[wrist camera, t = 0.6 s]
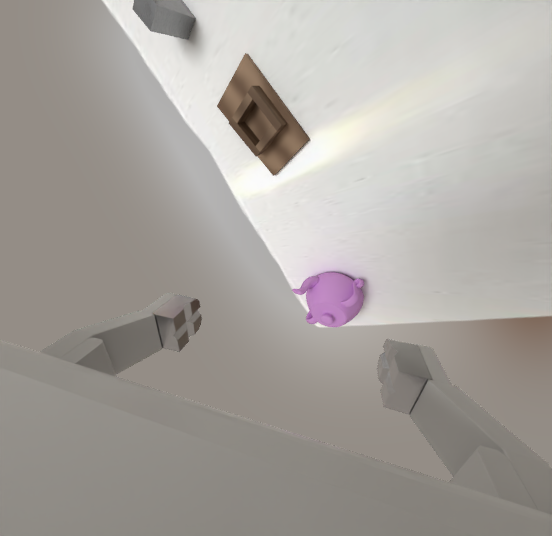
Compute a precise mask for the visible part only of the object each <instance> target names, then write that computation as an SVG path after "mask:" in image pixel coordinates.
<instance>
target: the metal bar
mask: <svg viewBox="0 0 552 536" xmlns="http://www.w3.org/2000/svg"><path fill="white" fill-rule="evenodd" d="M133 10H134V11H135V13H136V14H137V15H138V16H139V17H140V19H141V20H142V21H143V22H144V24H145V25H146V26H147V27H148V28H149V30H150V31H153V32H157V33H161V34H166V35H170V36H174V37H179V38H183V39H187V40H188V38H189V35H190V33H191V30H192V27H193V24H194V21H195V19H196V18H195V17H194V16H193V14H192V13H191V12H190V10H189V9H188V8H187V6H186V5H185V4H184V2H183V1H182V0H134V5H133Z"/></svg>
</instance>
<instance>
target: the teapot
mask: <svg viewBox="0 0 552 536" xmlns="http://www.w3.org/2000/svg"><path fill="white" fill-rule="evenodd" d="M363 285H364V282H363V280H362V279H356V280H352V279H351V278H349V277H347V276H345V275H343V274H340V273H334V272H328V273H322V274H319V275H317V276H312V277H309V278H307V279H306V280H305V281H304V282H303V284H302V286H301V288H300V289H292V291H293V292H295V293H296V294H299V295H302V294H304V293H305V292H306V291H307V293H306V299H307V304H308V307H309V310H310V311H309V312H308V314H307V317H306V320H307V322H308V323H310V324H315V323H317V322H319V323H321V324H322V325H325V326H328V327H339V326H342V325H344V324H346V323H347V322H349V321H350V320H352V319H353V318H354V317H355V316H356V315H357V314H358V312H359V311H360V309H361V307H362V304H363V299H364V297H363V293H362V290H361V287H362V286H363Z"/></svg>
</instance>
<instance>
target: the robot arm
mask: <svg viewBox="0 0 552 536" xmlns="http://www.w3.org/2000/svg"><path fill="white" fill-rule="evenodd" d="M199 308H200V302H199V300H198V299H195V298H191V297H187V296H182V295H177V294H173V293H166V294H164V295H163V296H162V297H160V298H159V299H158V300H156V301H155V302H153V303H152V304H151V305H149V306H148V307H147V308H145V309H144V310H143V311H137V312H133V313H130V314H126V315H123V316H120V317H117V318H113V319H110V320H107V321H104V322H100V323H97V324H94V325H91V326H87V327H84V328H81V329H77V330H75V331H72V332H71V333H69V334H67V335H66V336H64V337H63V338H61V339H59V340H58V341H56V342H55V343H53V344H51V345H50V346H48V347H47V348H45V349H43V350H42V351H40V352H37V351H34V350H31V349H28V348H25V347H22V346H18V345H15V344H12V343H9V342H6V341H3V340H0V536H552V468H551V467H550V466H549V464H548V463H547V462H546V461H545V460H544V459H542V458H541V457H540V456H539V455H538V454H537V453H535V452H534V451H533V450H532V449H531V448H529V447H528V446H527V445H526V444H525V443H524V442H522V441H521V440H520V439H519V438H518V437H516V436H515V435H514V434H513V433H512V432H510V431H509V430H508V429H507V428H506V427H505V426H503V425H502V424H501V423H500V422H499V421H498V420H496V419H495V418H494V417H493V416H491V415H490V414H489V413H488V412H487V411H486V410H485V409H483V408H482V407H480V405H479V404H477V403H476V402H475V401H474V400H473V399H471V398H470V397H469V396H468V395H467V394H466V393H465V392H463V391H462V390H461V389H460V388H459V387H457V386H455V385H452V384H451V382H450V380H449V378H448V377H447V374H446V372H445V370H444V369H443V367H442V365H441V363H440V361H439V359H438V357H437V355H436V353H435V351H434V349H433V348H431V347H428V346H423V345H418V344H411V343H406V342H401V341H396V340H390V339H387V340H386V341H385V343H384V346H383V347H384V351H385V352H384V353H382V354H381V355H380V357H379V361H378V368H377V369H378V379H379V380H380V382H381V383H382V384H383V385H382V388H381V395H382V400H383V406H384V407H386V408H389V409H392V410H396V411H399V412H402V413H406V414H409V415H410V417H411V419H412V420H413V422H414V423H415V424H416V426H417V427H418V428H419V430H420V431H421V433H422V434H423V435H424V437H425V438H426V440H427V441H428V442H429V444H430V445H431V446H432V448H433V449H434V451H435V452H436V454H437V455H438V456H439V458H440V459H441V460H442V462H443V463H444V465H445V466H446V467H447V469H448V470H449V471H450V473H451V474H452V475H453V478H452V479H451V480H450V482H447V481H444V480H441V479H438V478H434V477H432V476H428V475H425V474H422V473H419V472H416V471H413V470H410V469H406V468H403V467H400V466H397V465H394V464H391V463H388V462H384V461H381V460H378V459H375V458H372V457H368V456H365V455H362V454H359V453H356V452H353V451H350V450H346V449H343V448H340V447H336V446H334V445H331V444H327V443H324V442H321V441H318V440H315V439H312V438H308V437H305V436H302V435H299V434H296V433H292V432H289V431H286V430H283V429H280V428H277V427H274V426H270V425H267V424H264V423H261V422H258V421H254V420H251V419H248V418H245V417H242V416H238V415H236V414H232V413H229V412H226V411H223V410H220V409H217V408H214V407H211V406H207V405H204V404H201V403H198V402H195V401H192V400H188V399H185V398H182V397H179V396H176V395H173V394H170V393H167V392H163V391H160V390H157V389H154V388H150V387H148V386H144V385H141V384H138V383H135V382H132V381H129V380H126V379H122V378H119V377H117V376H116V374H118V373H120V372H121V371H123V370H125V369H127V368H129V367H131V366H133V365H134V364H136V363H138V362H140V361H141V360H143V359H145V358H147V357H149V356H150V355H152V354H154V353H156V352H158V351H160V350H161V349H162V348H165V349H169V350H174V351H177V352H180V351H181V350H182V349H183V347H184V346H185V345H186V344H187V343H188V342H189V337H190V336H192V335H194V334H195V333H196V332H197V331H198V330H199V327H200V325H201V320H202V317H201V314H200V313H199V311H198V309H199Z"/></svg>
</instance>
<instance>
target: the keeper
mask: <svg viewBox="0 0 552 536" xmlns="http://www.w3.org/2000/svg"><path fill="white" fill-rule="evenodd" d="M217 107H218V108H219V109H220V110H221V112H222V113H223V114H224V115H225V117H226V118H227V119H228V120H229V124H230V125H231V126H232V128H233V129H234V130H235V131H236V133H237V134H238V135H239V136H240V138H241V139H242V140H243V141H244V142H245V144H246V145H247V146H248V147H249V149H250V150H251V151H252V152H253V153H254V155H255V156H258V157H259V158H260V160H261V161H262V162H263V163H264V165H265V166H266V167H267V168H268V170H269V171H270V172H271V173H272V174H273V176H274V175H275V174H276V173H277V172H278V171H279V170H280V169H281V168H282V167H283V166H284V165H285V164H286V163H287V162H288V161H289V160H290V159H291V158H292V157H293V156H294V155H295V154H296V153H297V152H298V151H299V149H300V148H301V147H302V146H303V145H304V144H305V143H306V142H307V141H308V140H309V139H310V138H309V137H308V136H307V134H306V133H305V131H304V130H303V129H302V127H301V126H300V125H299V123H298V122H297V121H296V119H295V118H294V116H293V115H292V114H291V112H290V111H289V110H288V108H287V107H286V106H285V104H284V103H283V101H282V100H281V99H280V97H279V96H278V95H277V93H276V92H275V90H274V89H273V88H272V86H271V85H270V84H269V82H268V81H267V80H266V78H265V77H264V75H263V74H262V73H261V71H260V70H259V69H258V67H257V66H256V65H255V63H254V62H253V60H252V59H251V58H250V56H249V55H248V54H246V53H245V55H244V57H243V59H242V61H241V62H240V64H239V66H238V68H237V70H236V72H235V74H234V75H233V77H232V79H231V81H230V83H229V85H228V87H227V88H226V90H225V92H224V94H223V96H222V98H221V100H220V102H219V103H218V105H217Z"/></svg>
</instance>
